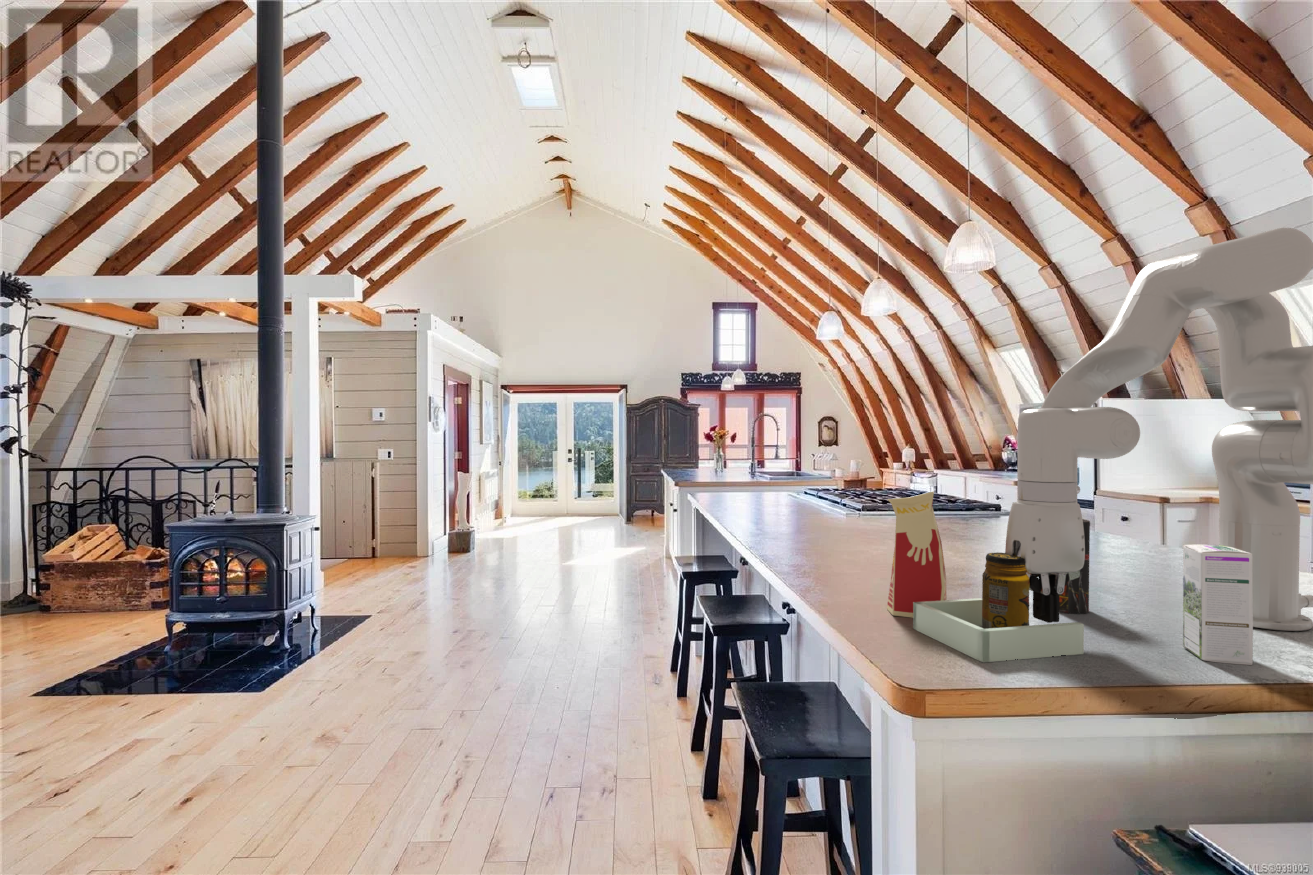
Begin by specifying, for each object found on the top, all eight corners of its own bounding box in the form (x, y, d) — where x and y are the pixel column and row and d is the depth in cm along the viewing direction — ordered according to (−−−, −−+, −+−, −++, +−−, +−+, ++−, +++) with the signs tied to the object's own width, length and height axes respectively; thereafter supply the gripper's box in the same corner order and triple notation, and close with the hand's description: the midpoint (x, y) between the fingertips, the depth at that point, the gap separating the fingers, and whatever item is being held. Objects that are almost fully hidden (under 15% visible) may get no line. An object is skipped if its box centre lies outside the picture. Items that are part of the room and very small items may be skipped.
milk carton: (946, 608, 113) (947, 489, 113) (945, 622, 104) (946, 494, 104) (889, 602, 117) (890, 487, 116) (883, 615, 108) (884, 491, 108)
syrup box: (1255, 666, 85) (1256, 552, 85) (1199, 661, 87) (1201, 549, 87) (1231, 651, 91) (1233, 545, 91) (1180, 647, 93) (1181, 542, 92)
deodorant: (1096, 614, 109) (1098, 522, 109) (1060, 613, 110) (1061, 522, 109) (1074, 604, 115) (1075, 517, 115) (1040, 604, 115) (1040, 517, 115)
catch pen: (1002, 622, 104) (1002, 596, 104) (1083, 654, 90) (1083, 624, 90) (913, 628, 101) (913, 602, 101) (982, 662, 86) (982, 631, 86)
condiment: (1043, 642, 94) (1044, 557, 94) (998, 649, 91) (999, 562, 91) (1000, 628, 101) (1000, 549, 101) (957, 634, 98) (957, 552, 98)
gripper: (1068, 490, 102) (1067, 610, 103) (983, 492, 99) (983, 616, 99) (1112, 495, 95) (1111, 623, 95) (1022, 497, 92) (1021, 631, 92)
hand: (1045, 619), depth 97 cm, fingers closed
